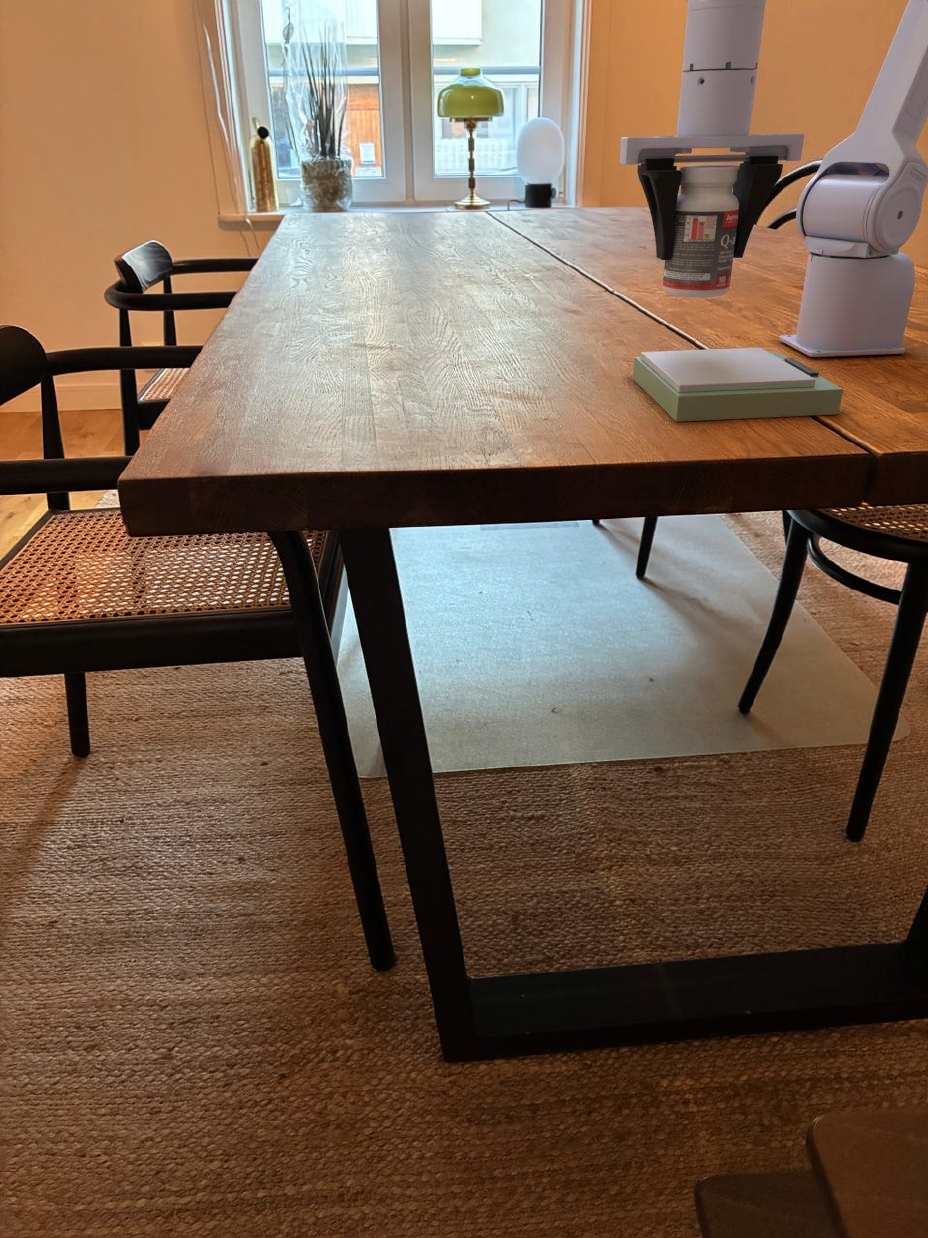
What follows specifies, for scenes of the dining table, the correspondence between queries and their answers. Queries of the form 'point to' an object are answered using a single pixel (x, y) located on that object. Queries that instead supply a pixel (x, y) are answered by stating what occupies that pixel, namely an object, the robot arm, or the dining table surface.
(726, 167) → the pill bottle
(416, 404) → the dining table surface
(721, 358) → the scale
